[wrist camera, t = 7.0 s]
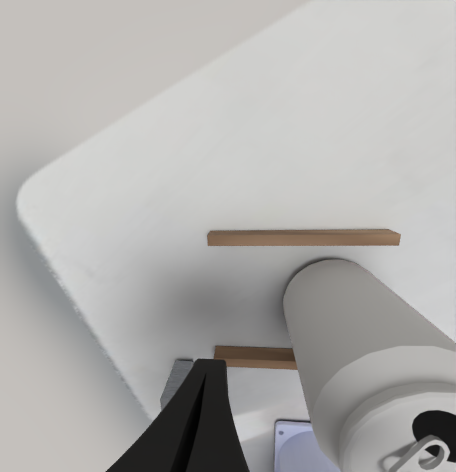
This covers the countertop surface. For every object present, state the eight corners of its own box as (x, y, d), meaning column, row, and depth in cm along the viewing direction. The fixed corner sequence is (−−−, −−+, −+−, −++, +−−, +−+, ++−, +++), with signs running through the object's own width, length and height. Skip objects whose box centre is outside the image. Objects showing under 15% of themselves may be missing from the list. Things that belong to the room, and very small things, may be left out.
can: (395, 297, 19) (614, 482, 8) (325, 352, 21) (416, 569, 10) (329, 236, 19) (462, 339, 7) (262, 299, 20) (279, 464, 9)
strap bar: (198, 435, 24) (188, 484, 21) (182, 434, 25) (170, 483, 21) (192, 361, 22) (180, 400, 18) (175, 360, 22) (160, 399, 18)
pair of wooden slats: (370, 359, 21) (379, 373, 19) (216, 353, 22) (213, 365, 21) (388, 229, 18) (400, 234, 17) (210, 230, 19) (207, 235, 18)
